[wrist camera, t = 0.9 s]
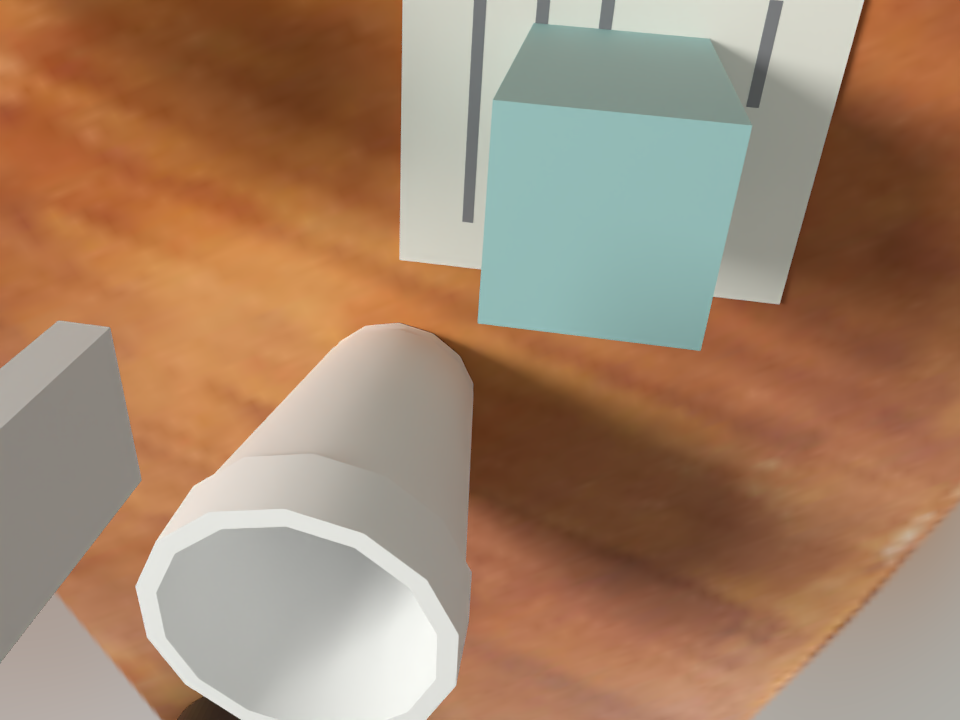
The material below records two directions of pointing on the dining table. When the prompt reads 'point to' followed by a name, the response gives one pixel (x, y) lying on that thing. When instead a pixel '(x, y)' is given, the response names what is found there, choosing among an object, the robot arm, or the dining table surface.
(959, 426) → the dining table surface
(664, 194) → the block
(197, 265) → the dining table surface
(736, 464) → the dining table surface
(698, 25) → the letter
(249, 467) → the foam cup
